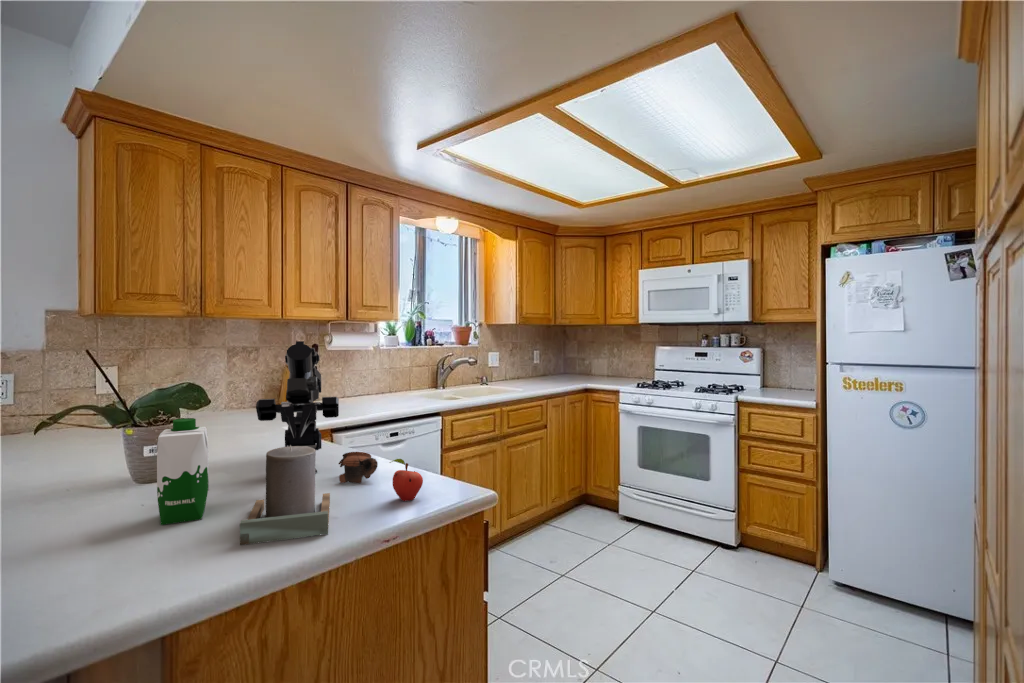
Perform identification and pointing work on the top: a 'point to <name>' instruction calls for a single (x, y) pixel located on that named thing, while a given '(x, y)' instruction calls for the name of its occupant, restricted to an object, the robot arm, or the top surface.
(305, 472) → the pillar candle
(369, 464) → the pottery mug
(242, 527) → the channel
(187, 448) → the milk carton
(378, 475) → the top surface
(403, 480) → the apple
